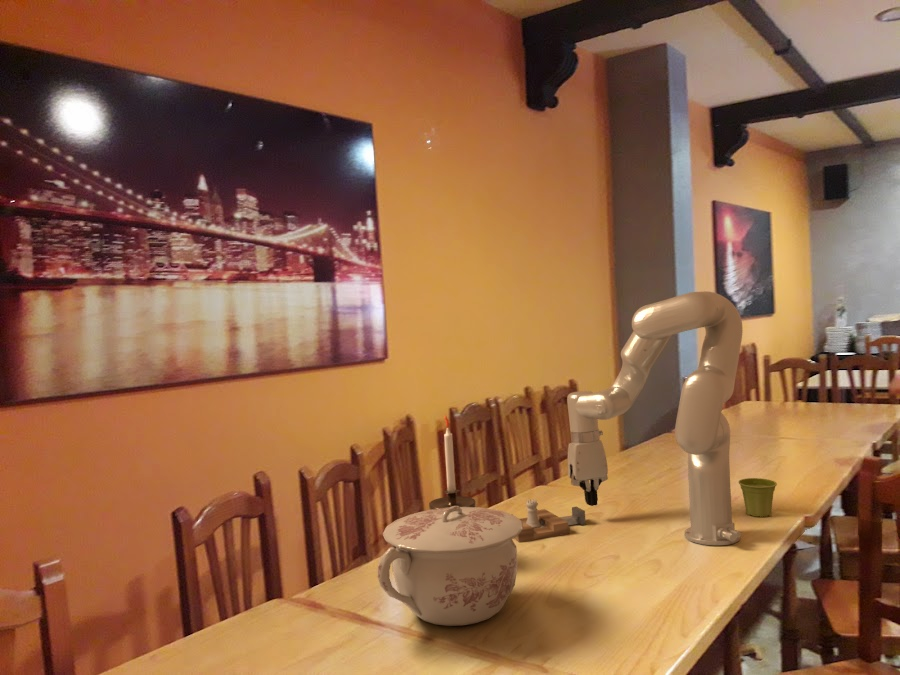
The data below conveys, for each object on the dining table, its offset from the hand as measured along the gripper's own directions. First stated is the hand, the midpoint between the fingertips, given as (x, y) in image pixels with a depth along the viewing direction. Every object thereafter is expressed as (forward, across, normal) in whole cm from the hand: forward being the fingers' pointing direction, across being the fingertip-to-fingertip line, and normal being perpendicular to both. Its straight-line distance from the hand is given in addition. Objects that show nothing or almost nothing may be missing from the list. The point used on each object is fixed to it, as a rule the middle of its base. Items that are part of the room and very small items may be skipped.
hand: (591, 504), depth 186 cm
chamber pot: (+5, +52, +37) cm, 64 cm away
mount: (+4, +17, -1) cm, 18 cm away
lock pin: (+4, +10, -1) cm, 11 cm away
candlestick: (+4, +44, +12) cm, 46 cm away
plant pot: (+7, -41, +15) cm, 45 cm away
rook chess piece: (+4, +17, -1) cm, 18 cm away
